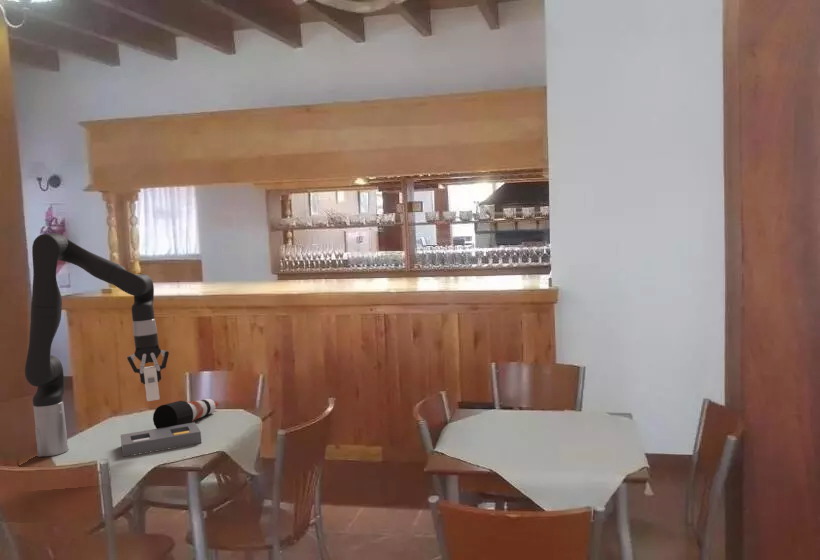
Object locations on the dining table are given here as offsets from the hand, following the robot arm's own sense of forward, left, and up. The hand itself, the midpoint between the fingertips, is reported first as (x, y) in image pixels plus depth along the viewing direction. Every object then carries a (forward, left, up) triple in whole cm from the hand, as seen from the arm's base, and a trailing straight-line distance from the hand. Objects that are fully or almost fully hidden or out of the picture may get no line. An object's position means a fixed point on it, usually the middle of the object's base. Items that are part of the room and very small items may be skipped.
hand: (151, 382), depth 250 cm
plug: (0, 0, -6) cm, 6 cm away
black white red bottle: (+15, +25, -22) cm, 36 cm away
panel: (+1, 0, -22) cm, 22 cm away
